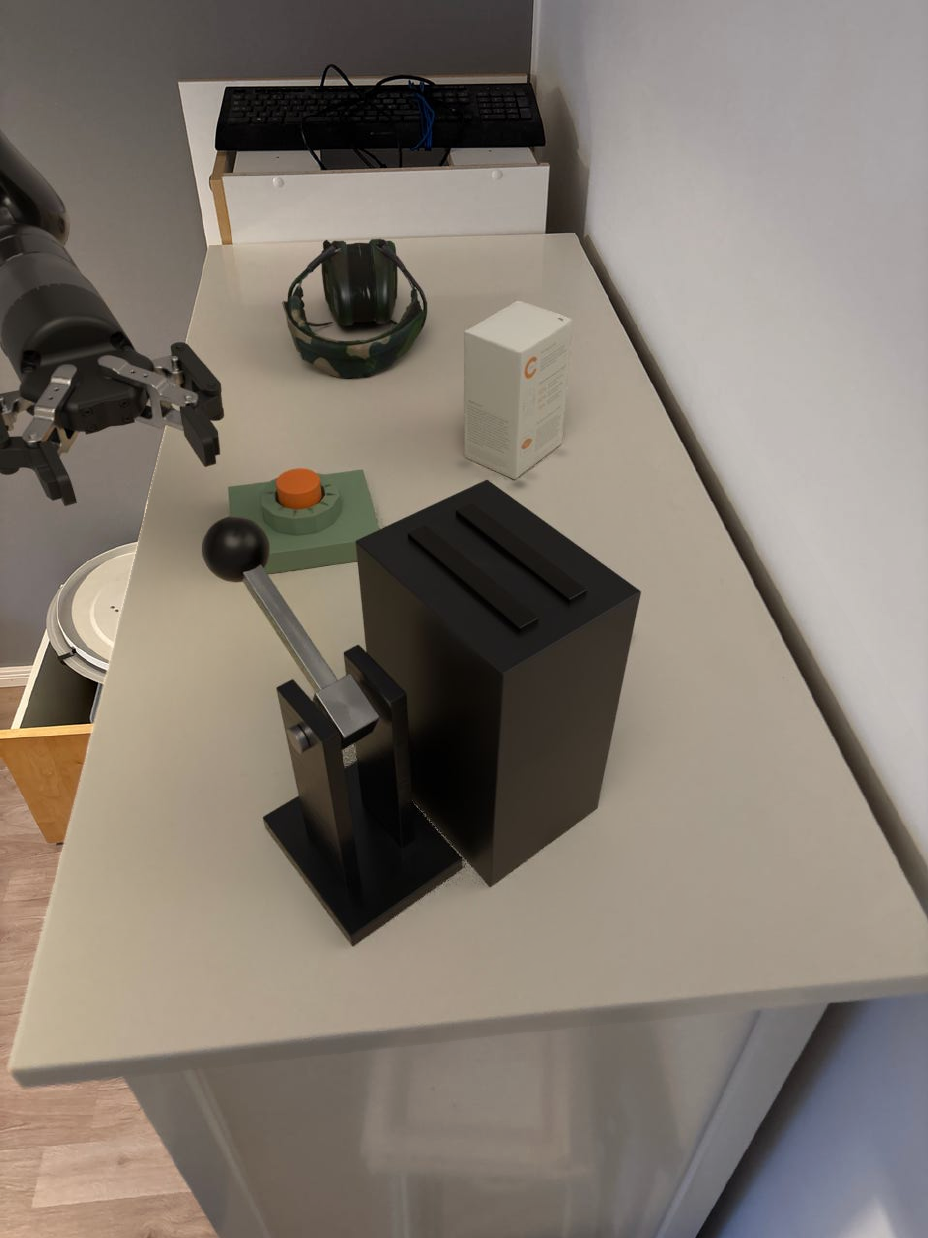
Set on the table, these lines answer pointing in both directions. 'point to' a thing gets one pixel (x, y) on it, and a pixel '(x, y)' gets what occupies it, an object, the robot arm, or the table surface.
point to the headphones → (356, 308)
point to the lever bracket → (357, 809)
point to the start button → (299, 488)
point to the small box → (515, 387)
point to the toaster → (498, 668)
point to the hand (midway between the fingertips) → (141, 473)
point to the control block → (309, 521)
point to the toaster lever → (286, 623)
